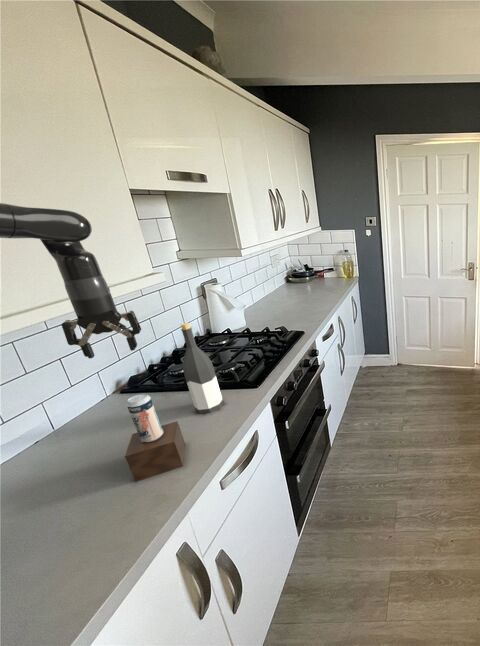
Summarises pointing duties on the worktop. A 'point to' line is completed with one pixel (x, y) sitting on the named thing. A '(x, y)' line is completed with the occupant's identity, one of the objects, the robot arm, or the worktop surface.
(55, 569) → the worktop surface
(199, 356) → the wine bottle
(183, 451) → the riser block
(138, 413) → the beer can
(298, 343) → the worktop surface
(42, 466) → the worktop surface
